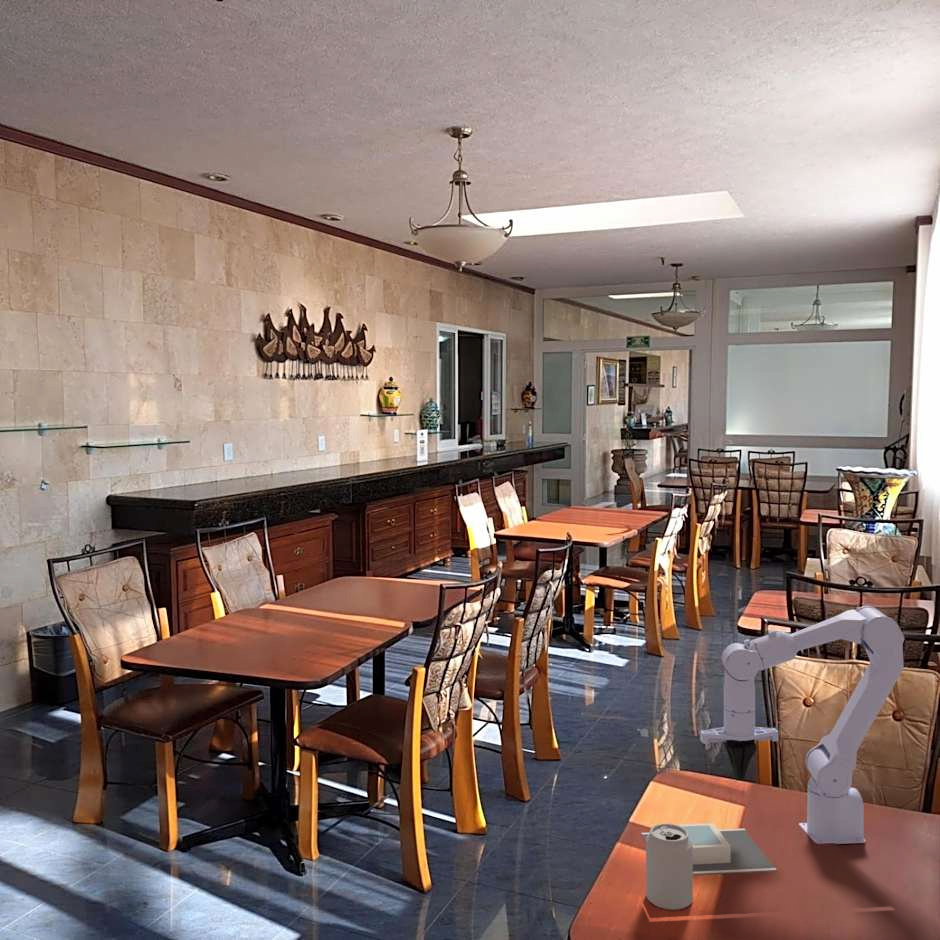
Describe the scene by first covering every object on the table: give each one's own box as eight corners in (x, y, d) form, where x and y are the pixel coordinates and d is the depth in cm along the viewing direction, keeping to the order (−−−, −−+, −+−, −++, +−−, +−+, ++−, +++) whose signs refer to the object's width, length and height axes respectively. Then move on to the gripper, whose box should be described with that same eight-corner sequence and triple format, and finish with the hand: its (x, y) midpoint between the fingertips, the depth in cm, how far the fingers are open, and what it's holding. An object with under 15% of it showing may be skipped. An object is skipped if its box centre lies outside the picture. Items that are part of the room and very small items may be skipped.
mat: (743, 830, 171) (743, 827, 171) (777, 873, 155) (777, 870, 155) (640, 835, 170) (640, 832, 169) (663, 879, 154) (663, 875, 154)
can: (666, 919, 142) (666, 846, 141) (636, 896, 148) (636, 826, 147) (702, 906, 145) (702, 835, 144) (672, 885, 152) (672, 816, 151)
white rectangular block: (713, 822, 167) (674, 824, 166) (730, 845, 158) (688, 847, 157) (713, 838, 167) (674, 840, 166) (730, 862, 158) (688, 864, 157)
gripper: (768, 700, 173) (768, 768, 174) (695, 702, 173) (695, 771, 173) (783, 712, 166) (782, 783, 167) (706, 715, 166) (706, 786, 166)
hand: (738, 778), depth 170 cm, fingers closed
